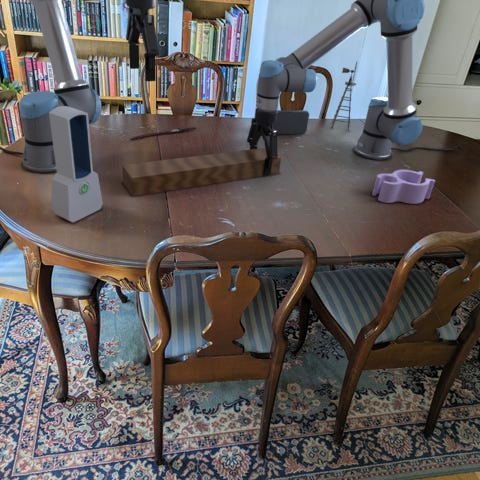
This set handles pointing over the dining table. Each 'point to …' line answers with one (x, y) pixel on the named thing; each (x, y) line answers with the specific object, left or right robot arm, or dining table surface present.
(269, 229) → the dining table surface
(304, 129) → the handheld gaming console
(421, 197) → the clip
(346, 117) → the miniature windmill
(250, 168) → the slab
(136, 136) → the sword
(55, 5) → the left robot arm
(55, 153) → the electronic device
